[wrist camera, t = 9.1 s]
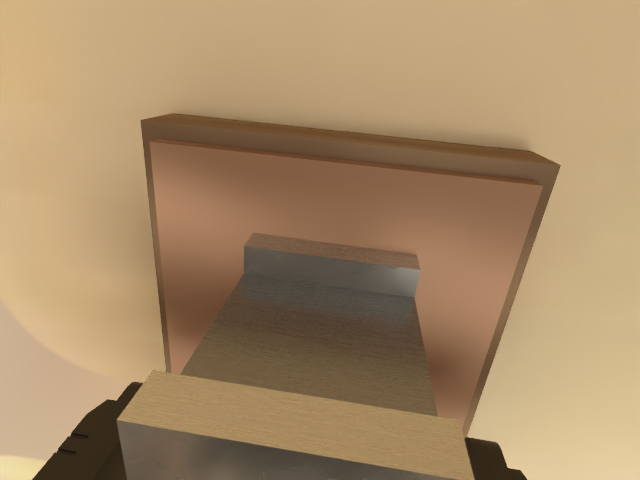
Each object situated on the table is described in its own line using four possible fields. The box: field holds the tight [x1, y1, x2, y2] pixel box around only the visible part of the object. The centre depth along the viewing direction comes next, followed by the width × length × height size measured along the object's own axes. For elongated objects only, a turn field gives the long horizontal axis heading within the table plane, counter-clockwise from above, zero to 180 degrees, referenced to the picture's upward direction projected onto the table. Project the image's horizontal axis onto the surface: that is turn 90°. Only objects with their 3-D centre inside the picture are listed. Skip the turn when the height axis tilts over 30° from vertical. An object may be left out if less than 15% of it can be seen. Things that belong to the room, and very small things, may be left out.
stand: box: [141, 114, 561, 438], centre depth 14 cm, size 14×12×2 cm
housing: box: [117, 233, 475, 480], centre depth 10 cm, size 5×8×7 cm, turn 175°
